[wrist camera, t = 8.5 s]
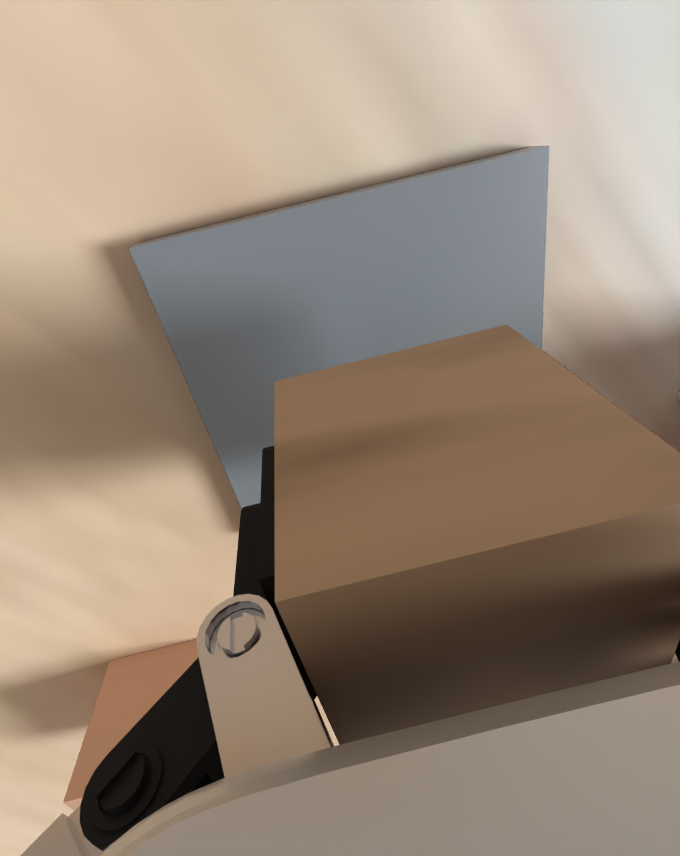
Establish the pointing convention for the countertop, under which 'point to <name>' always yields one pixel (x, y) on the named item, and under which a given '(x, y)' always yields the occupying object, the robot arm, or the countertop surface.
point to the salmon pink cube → (126, 705)
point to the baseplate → (345, 287)
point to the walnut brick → (468, 532)
